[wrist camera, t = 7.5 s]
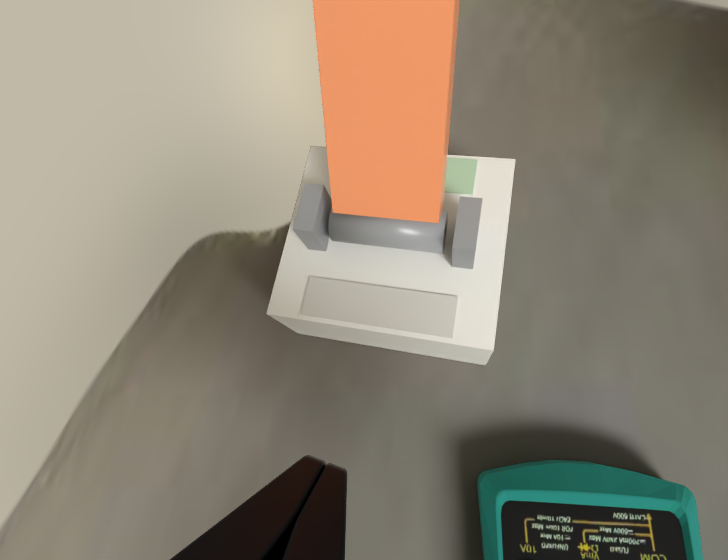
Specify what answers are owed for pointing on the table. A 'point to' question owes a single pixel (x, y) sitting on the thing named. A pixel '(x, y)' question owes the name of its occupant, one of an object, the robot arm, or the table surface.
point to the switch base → (400, 270)
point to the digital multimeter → (584, 514)
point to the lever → (387, 118)
